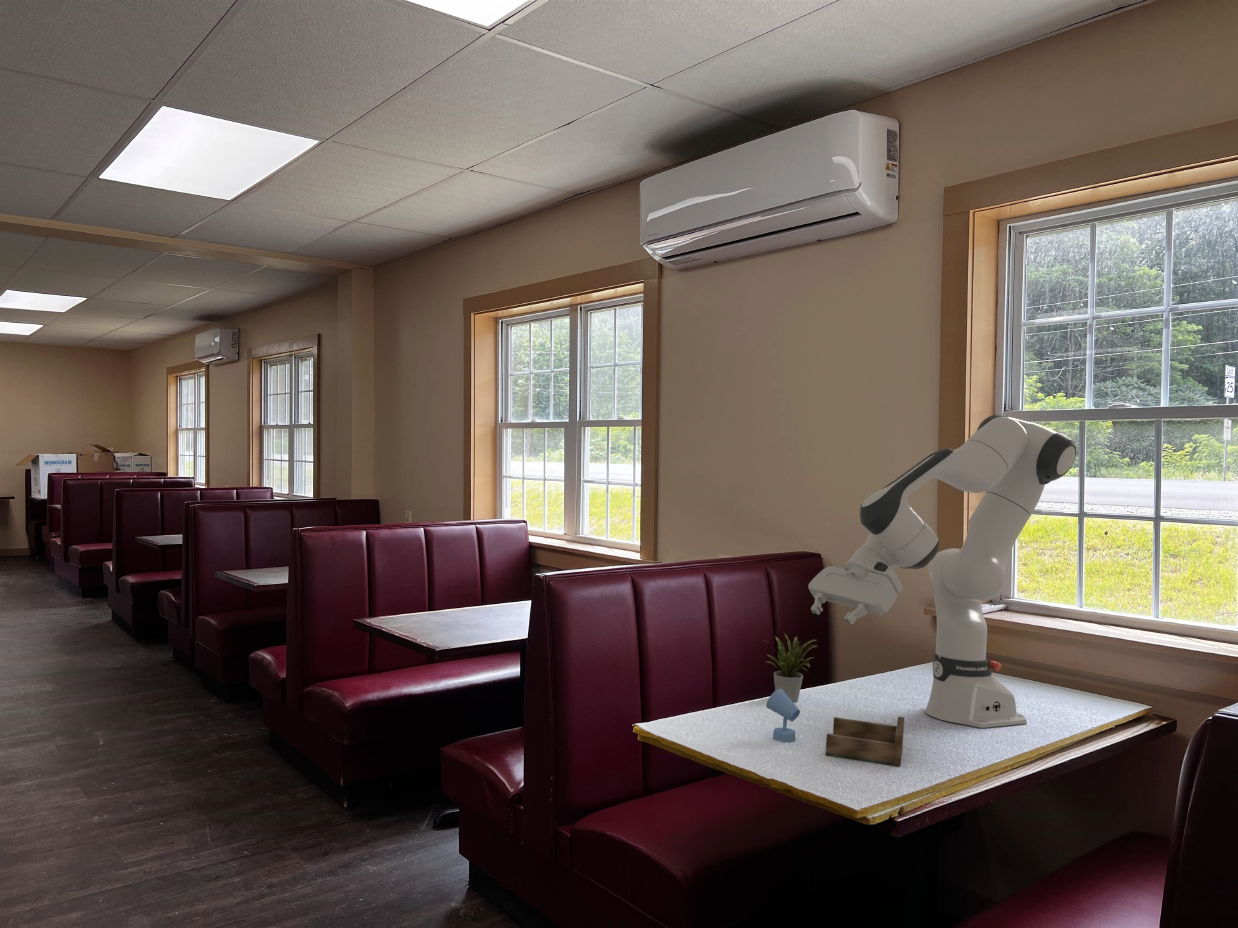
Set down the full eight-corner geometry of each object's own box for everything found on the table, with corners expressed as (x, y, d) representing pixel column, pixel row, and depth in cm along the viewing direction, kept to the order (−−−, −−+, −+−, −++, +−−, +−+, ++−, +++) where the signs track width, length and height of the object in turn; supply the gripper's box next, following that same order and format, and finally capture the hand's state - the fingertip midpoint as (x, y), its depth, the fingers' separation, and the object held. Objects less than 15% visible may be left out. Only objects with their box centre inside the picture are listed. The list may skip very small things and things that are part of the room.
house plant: (832, 701, 213) (836, 634, 213) (805, 712, 202) (809, 641, 203) (781, 689, 222) (784, 625, 222) (752, 699, 212) (755, 631, 212)
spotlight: (761, 736, 182) (790, 744, 178) (764, 688, 182) (792, 695, 178) (774, 731, 186) (803, 739, 181) (777, 684, 186) (805, 691, 181)
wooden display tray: (825, 755, 172) (827, 724, 172) (833, 735, 185) (834, 707, 185) (900, 766, 167) (901, 735, 167) (902, 746, 180) (904, 717, 180)
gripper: (824, 554, 199) (789, 596, 194) (898, 569, 182) (862, 616, 177) (836, 573, 201) (801, 616, 196) (909, 590, 185) (874, 637, 179)
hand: (830, 616), depth 186 cm, fingers open, 8 cm apart
